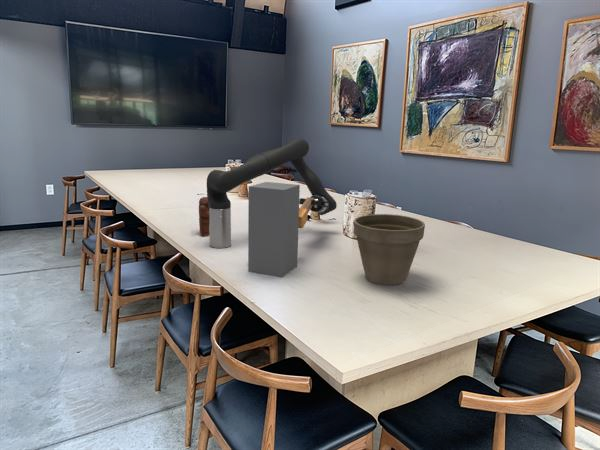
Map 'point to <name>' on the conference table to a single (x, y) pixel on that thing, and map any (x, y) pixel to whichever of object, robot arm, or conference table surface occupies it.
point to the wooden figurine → (204, 216)
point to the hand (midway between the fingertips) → (307, 201)
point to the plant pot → (387, 246)
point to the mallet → (304, 212)
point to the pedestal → (273, 228)
